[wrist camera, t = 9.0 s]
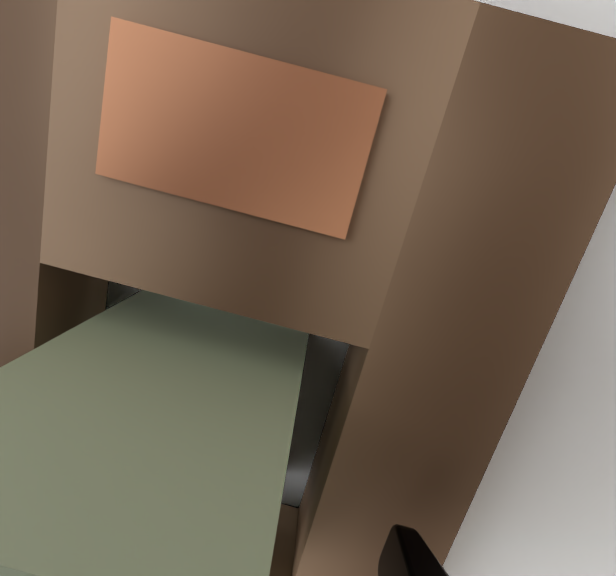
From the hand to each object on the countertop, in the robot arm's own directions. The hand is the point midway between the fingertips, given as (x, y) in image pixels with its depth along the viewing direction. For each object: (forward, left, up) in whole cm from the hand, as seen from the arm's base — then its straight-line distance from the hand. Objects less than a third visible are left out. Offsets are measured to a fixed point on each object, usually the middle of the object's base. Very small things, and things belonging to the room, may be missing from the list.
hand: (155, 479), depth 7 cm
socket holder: (0, 0, -4) cm, 4 cm away
